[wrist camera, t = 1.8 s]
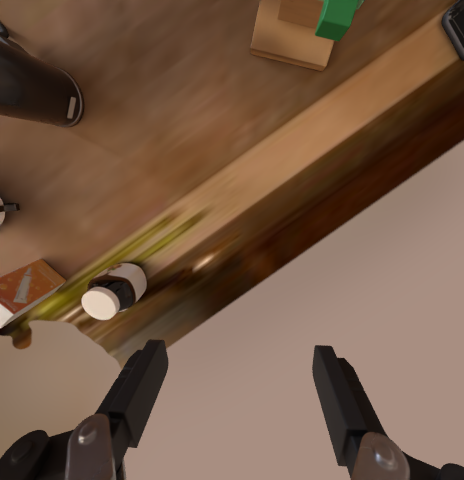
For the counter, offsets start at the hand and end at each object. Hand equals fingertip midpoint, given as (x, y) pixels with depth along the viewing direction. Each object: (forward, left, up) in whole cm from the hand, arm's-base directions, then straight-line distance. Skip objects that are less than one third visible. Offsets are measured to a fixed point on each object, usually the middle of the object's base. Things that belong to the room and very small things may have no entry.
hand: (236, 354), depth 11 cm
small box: (-25, -47, -35) cm, 64 cm away
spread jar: (-9, -33, -35) cm, 49 cm away
